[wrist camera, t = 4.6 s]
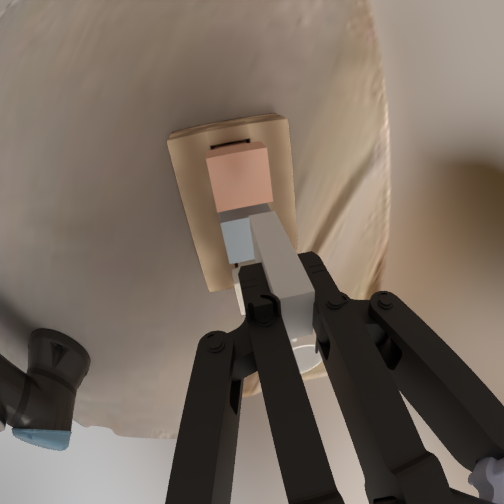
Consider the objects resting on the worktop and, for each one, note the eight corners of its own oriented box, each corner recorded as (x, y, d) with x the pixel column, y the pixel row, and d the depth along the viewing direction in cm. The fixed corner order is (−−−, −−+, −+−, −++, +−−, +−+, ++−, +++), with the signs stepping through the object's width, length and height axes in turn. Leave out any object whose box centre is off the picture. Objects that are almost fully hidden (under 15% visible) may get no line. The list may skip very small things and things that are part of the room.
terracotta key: (213, 183, 29) (217, 212, 23) (204, 140, 26) (205, 158, 20) (257, 174, 29) (273, 201, 23) (251, 132, 26) (266, 147, 21)
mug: (250, 276, 42) (266, 338, 32) (304, 265, 43) (332, 322, 33) (257, 324, 49) (272, 381, 39) (303, 314, 50) (324, 368, 40)
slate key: (223, 229, 33) (229, 264, 28) (216, 193, 31) (220, 223, 25) (262, 221, 34) (276, 254, 28) (257, 185, 31) (271, 212, 25)
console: (207, 269, 40) (209, 292, 36) (172, 132, 28) (166, 140, 24) (288, 252, 41) (298, 273, 37) (275, 113, 29) (287, 118, 25)
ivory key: (234, 275, 36) (241, 315, 31) (227, 246, 34) (233, 284, 28) (269, 268, 37) (283, 305, 31) (266, 238, 34) (280, 274, 28)
